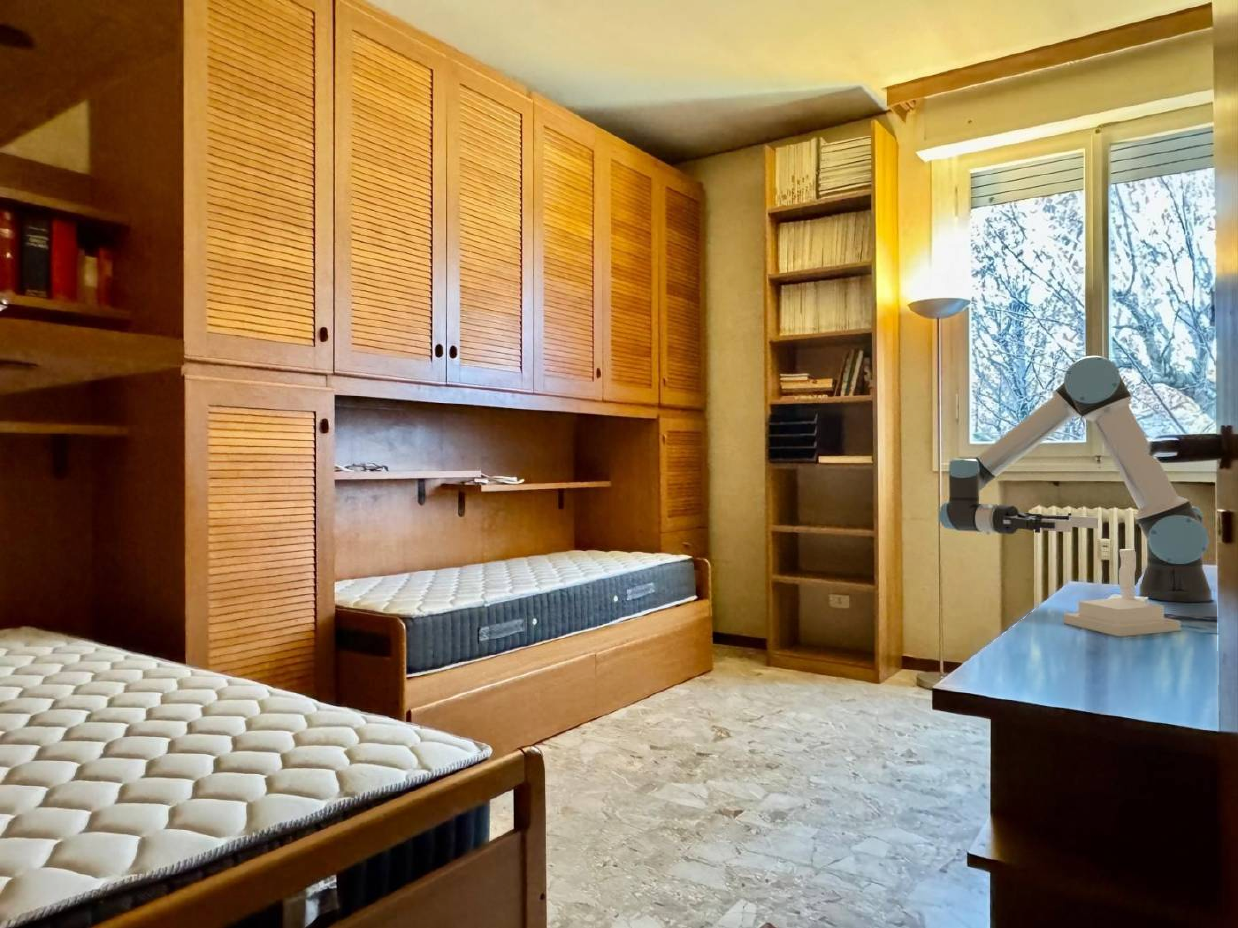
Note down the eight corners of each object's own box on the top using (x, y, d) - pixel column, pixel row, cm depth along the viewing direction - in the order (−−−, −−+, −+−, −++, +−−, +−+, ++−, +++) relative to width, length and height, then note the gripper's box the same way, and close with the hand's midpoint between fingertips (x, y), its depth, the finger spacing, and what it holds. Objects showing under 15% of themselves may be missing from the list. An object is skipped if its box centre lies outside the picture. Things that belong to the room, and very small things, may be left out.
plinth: (1122, 617, 181) (1121, 595, 181) (1180, 630, 168) (1180, 606, 167) (1064, 622, 177) (1063, 600, 177) (1119, 636, 163) (1118, 611, 163)
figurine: (1106, 615, 184) (1105, 550, 184) (1113, 608, 191) (1112, 545, 191) (1144, 619, 179) (1143, 551, 179) (1149, 612, 187) (1148, 547, 186)
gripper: (1023, 530, 217) (1107, 536, 200) (972, 536, 203) (1058, 544, 186) (1023, 502, 217) (1107, 506, 200) (971, 506, 203) (1058, 511, 185)
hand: (1084, 524), depth 193 cm, fingers open, 13 cm apart
